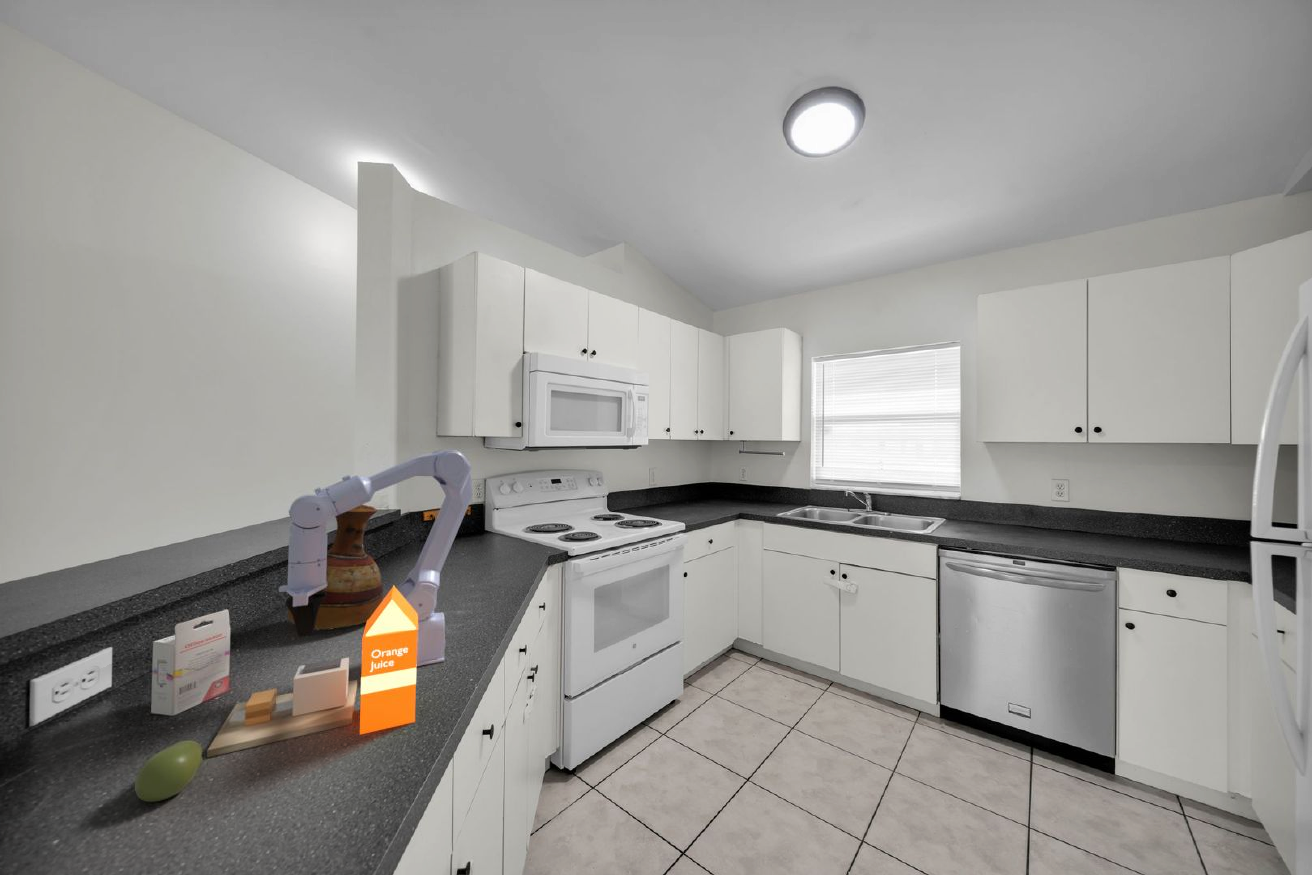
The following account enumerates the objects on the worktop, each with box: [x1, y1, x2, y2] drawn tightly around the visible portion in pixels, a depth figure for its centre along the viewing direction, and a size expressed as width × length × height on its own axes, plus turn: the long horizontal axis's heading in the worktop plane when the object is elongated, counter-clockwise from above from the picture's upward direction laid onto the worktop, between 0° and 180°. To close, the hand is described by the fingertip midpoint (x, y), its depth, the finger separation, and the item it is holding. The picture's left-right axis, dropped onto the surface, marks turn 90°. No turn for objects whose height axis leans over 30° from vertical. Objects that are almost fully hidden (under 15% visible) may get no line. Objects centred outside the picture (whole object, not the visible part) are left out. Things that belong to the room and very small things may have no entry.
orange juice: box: [359, 584, 418, 735], centre depth 77 cm, size 8×9×20 cm
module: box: [292, 657, 350, 716], centre depth 78 cm, size 7×5×6 cm
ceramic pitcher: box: [287, 504, 384, 631], centre depth 117 cm, size 20×20×30 cm
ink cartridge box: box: [150, 609, 231, 717], centre depth 80 cm, size 9×5×15 cm, turn 168°
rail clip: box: [245, 688, 278, 726], centre depth 74 cm, size 3×4×3 cm, turn 29°
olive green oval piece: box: [134, 740, 204, 803], centre depth 60 cm, size 6×5×10 cm
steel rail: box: [229, 689, 349, 728], centre depth 76 cm, size 15×3×1 cm, turn 119°
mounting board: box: [206, 679, 358, 758], centre depth 76 cm, size 17×14×1 cm
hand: (305, 634), depth 86 cm, fingers closed
